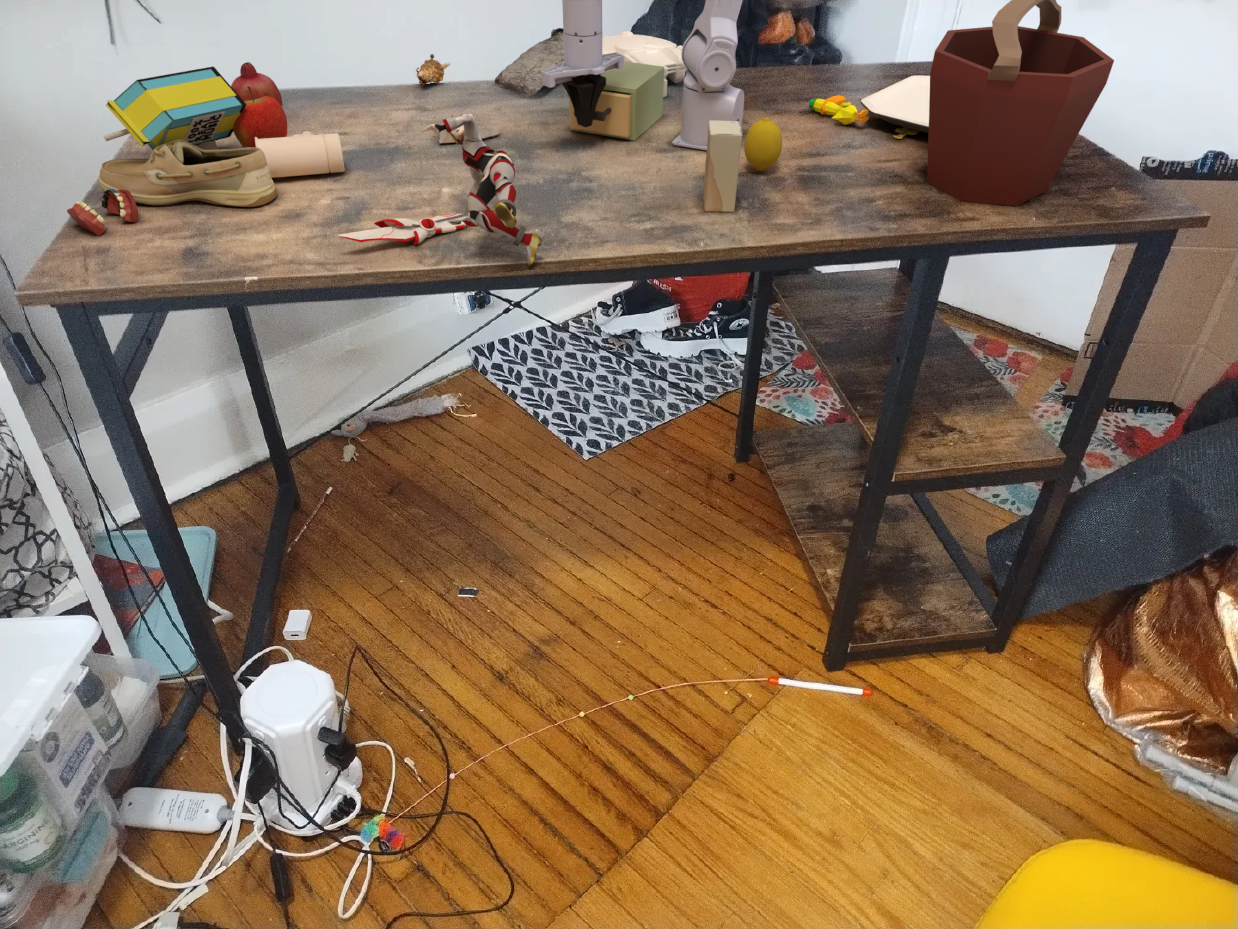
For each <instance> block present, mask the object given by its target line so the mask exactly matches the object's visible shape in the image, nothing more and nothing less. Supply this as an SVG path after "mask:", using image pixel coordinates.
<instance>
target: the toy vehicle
mask: <svg viewBox="0 0 1238 929" xmlns="http://www.w3.org/2000/svg"><path fill="white" fill-rule="evenodd" d="M682 47H683V45H681V44H680V45H677V44H676V43H674V42H672V41H669V40H667V39H663V38H660V37H655V36H651V35H644V34H634V33H633V32H632V31H631V30H630V31H629V30H623V31H621V32H620V33H619V34H616V35H606V36H602V54H610V53H615V52H616V53H619V54H622V55H624V61H626V62H633V63H640V64H648V65H655V66H662V67H664V89H663V98H666V97H667V95H668V79H669V80H670V81H672V82H673V83H675V84H679V83H681V82H684V78H685V77H686V71H688V69H687V68H686V67H685V65H684V64H683V61H682V55H681V53H682ZM667 78H668V79H667Z"/></svg>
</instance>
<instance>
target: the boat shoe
mask: <svg viewBox="0 0 1238 929" xmlns="http://www.w3.org/2000/svg"><path fill="white" fill-rule="evenodd" d="M97 180H98V186H100V188H101V189H102V190H103V191H105V190H107V189H115V190H117V191H118V190H120V189H123V190H128V191H129V192H130V193H131V194H132V196H133V197H134V200H135V203H136V204H142V205H146V206H147V205H148V206H159V207H160V206H170V205H171V206H172V205H175V204H179V203H184V202H192V201H200V202H205V203H208V204H213V205H217V206H226V207H238V208H239V207H240V208H256V207H261V206H263V205H266V204H268V203H270V202H271V201H273V200H274V199H275V198H276V197H277V195H278V192H277V191H278V190H277V188H276V185H275V183H274V180H273V179H272V178H271V174H270V171H269V168H268V166H267V162H266V157H265V155H264V153H263V151H262V150H261V149H260V148H256V147H248V148H244V147H239V148H238V147H237V148H230V149H229V148H227V149H223V148H222V149H219V148H218V150H202V149H200V148H198V147H196V146H194V145H193V144H191V143H188V142H186V141H183V140H175V141H170V142H167V143H165V144H162V145H160V146H158V147H156V148H155V149H154V150H153V149H152V151H151V153H150V157H149V158H117V159H116V158H115V159H110V160H107V161H104V162H103V163H102V164H101V167H100V170H99V175H98V178H97Z"/></svg>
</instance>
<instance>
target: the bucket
mask: <svg viewBox="0 0 1238 929" xmlns="http://www.w3.org/2000/svg"><path fill="white" fill-rule="evenodd" d="M1035 6H1036V7H1037V8H1038V10H1039V24H1038V26H1037V28H1032V27H1026V26H1019V24H1020V23H1021V21H1022V20H1023V18H1024V17H1025V16H1026V15H1027V14H1028V13H1029V12H1030V11H1031V10H1032V9H1033V8H1034V7H1035ZM1061 24H1062V6H1061V5H1060V4H1059V3H1058V2H1057V0H1010V1H1008V2H1007V3H1005V5H1004V6H1002V8H1000V9H999V10H998V11H997V12H996V14H995V16H994V17H993V19H992V21H991V25H992V26H982V27H971V28H959V29H949V30H947V31H946V33H945V34H944V36H943V37H942V39H941V40H940V42H939V44H938V45H937V47H936V48H935V50H934V54H933V59H932V63H931V68H930V72H929V76H930V99H929V133H928V135H927V136H928V140H927V141H928V143H927V145H928V146H927V173H926V174H927V176H926V180H927V181H926V182H927V183H928V184H930V185H932V186H934V187H935V188H937V189H939V190H941V191H943V192H945V193H946V194H948V195H950V196H952V197H954V198H955V199H957V200H959V201H961V202H963V203H967V202H968V203H976V204H987V205H989V204H990V205H1002V206H1015V207H1018V206H1020V205H1023V204H1024V203H1026V202H1028V201H1030V200H1031V199H1034V198H1036V197H1038V196H1041V194H1043V193H1045V192H1047V191H1048V189H1049V187H1050V185H1051V183H1052V182H1053V180H1054V179H1055V176H1056V174H1057V173H1058V171H1059V169H1060V167H1061V166H1062V164H1063V162H1064V160H1065V159H1066V157H1067V155H1068V153H1069V151H1070V149H1071V148H1072V146H1073V144H1074V142H1075V140H1076V139H1077V137H1078V135H1079V134H1080V132H1081V130H1082V129H1083V126H1084V125H1085V122H1086V121H1087V119H1088V117H1089V116H1090V114H1091V112H1092V111H1093V109H1094V106H1095V105H1096V103H1097V101H1098V100H1099V98H1100V95H1101V94H1102V93H1103V91H1104V89H1105V87H1106V85H1107V83H1108V80H1109V77H1110V74H1111V71H1112V69H1113V66H1114V62H1115V59H1113V58H1112V57H1111V56H1109V55H1108V54H1107V53H1105V52H1104V51H1102V50H1101V49H1100V48H1098V47H1097V46H1096V45H1095V44H1093V43H1092V42H1090V41H1089V40H1088V39H1086V38H1085V37H1084V36H1079V35H1074V34H1067V33H1061V32H1059V29H1060V27H1061Z"/></svg>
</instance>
